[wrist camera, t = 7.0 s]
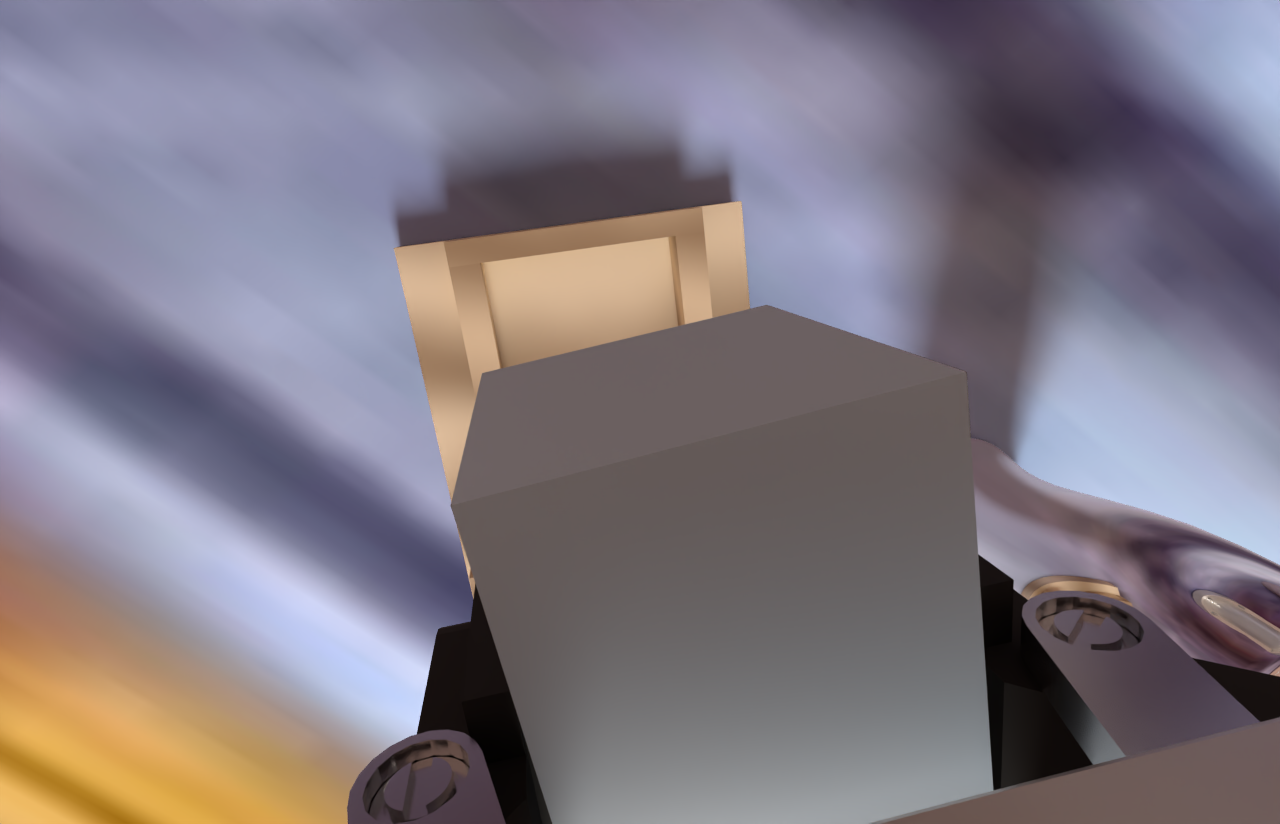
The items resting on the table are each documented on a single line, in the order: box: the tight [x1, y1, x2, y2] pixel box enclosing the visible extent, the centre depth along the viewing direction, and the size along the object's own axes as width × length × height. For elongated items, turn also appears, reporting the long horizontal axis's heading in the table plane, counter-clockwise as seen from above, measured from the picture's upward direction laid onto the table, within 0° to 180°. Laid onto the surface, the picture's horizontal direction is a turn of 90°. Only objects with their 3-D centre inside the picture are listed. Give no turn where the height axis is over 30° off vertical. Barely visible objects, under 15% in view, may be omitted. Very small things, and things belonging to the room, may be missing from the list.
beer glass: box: [971, 438, 1280, 677], centre depth 23 cm, size 7×7×15 cm
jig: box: [394, 201, 750, 599], centre depth 26 cm, size 22×12×4 cm, turn 7°
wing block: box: [451, 305, 993, 824], centre depth 9 cm, size 8×4×5 cm, turn 12°
